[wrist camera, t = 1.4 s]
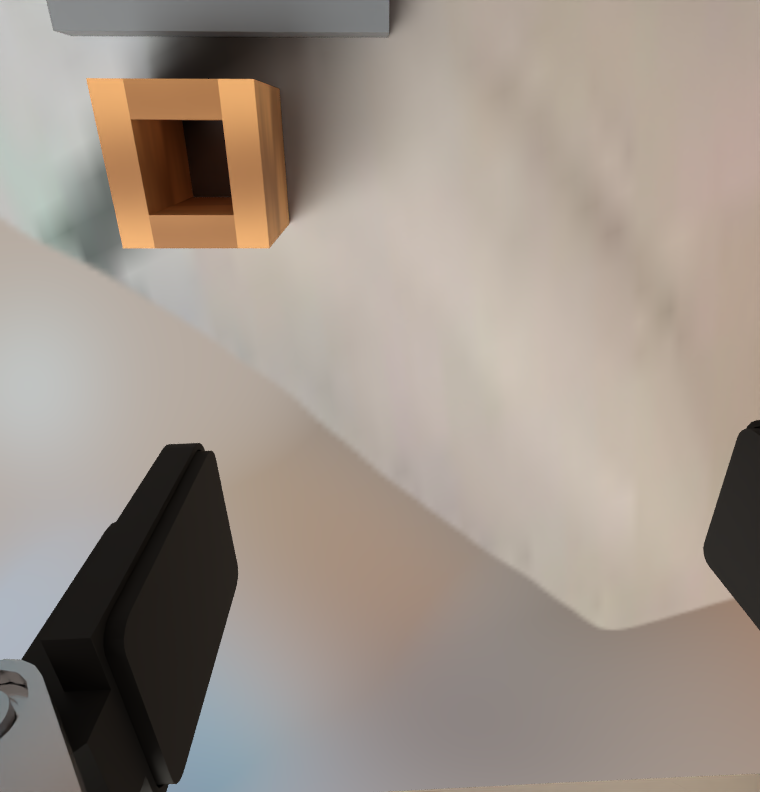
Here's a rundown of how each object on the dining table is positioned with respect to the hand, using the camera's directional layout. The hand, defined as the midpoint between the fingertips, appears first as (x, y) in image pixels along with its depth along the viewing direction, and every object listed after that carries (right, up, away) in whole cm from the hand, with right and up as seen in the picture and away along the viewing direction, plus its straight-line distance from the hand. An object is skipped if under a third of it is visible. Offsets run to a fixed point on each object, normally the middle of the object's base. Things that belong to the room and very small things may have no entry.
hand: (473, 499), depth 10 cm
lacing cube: (-9, +13, +16) cm, 23 cm away
